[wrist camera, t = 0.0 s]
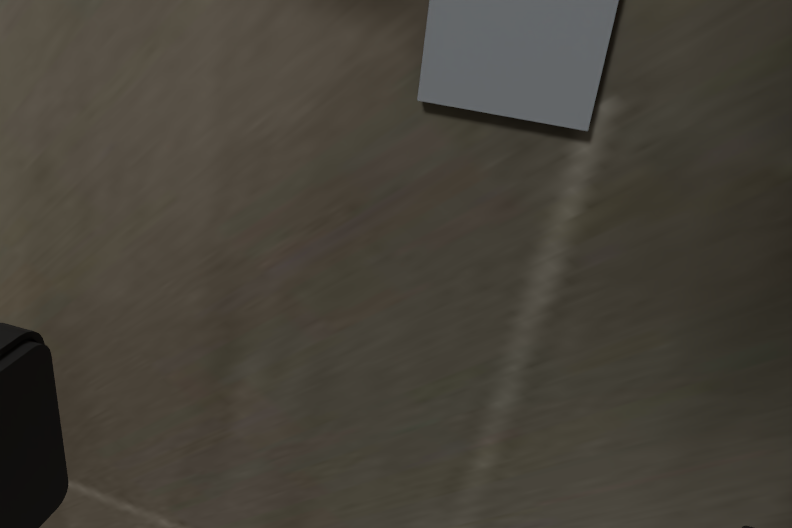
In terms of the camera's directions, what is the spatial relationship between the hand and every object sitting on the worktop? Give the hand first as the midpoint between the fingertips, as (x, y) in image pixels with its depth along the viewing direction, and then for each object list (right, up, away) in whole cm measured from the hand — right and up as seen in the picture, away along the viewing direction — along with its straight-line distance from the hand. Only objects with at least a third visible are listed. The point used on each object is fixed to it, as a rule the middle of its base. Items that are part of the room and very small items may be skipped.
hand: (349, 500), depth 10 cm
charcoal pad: (+7, +17, +26) cm, 32 cm away
